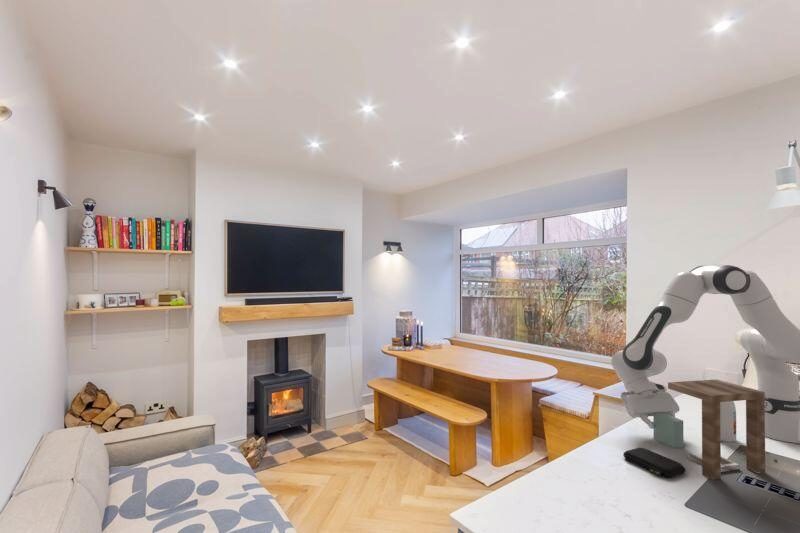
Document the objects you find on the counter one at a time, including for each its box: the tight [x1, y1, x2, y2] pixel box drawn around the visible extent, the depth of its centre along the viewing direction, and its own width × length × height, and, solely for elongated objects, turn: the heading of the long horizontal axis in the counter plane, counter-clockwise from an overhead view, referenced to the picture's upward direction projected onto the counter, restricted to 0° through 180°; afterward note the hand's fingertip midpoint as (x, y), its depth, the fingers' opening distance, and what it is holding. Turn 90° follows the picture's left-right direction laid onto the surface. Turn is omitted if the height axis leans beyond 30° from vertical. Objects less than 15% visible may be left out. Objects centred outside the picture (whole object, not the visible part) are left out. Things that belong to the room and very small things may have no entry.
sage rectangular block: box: [652, 412, 684, 449], centre depth 134 cm, size 4×8×9 cm, turn 13°
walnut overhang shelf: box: [667, 379, 766, 481], centre depth 119 cm, size 20×14×24 cm
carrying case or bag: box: [623, 447, 687, 479], centre depth 117 cm, size 11×3×15 cm
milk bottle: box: [720, 401, 737, 443], centre depth 139 cm, size 8×8×20 cm
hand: (664, 426), depth 136 cm, fingers open, 8 cm apart
